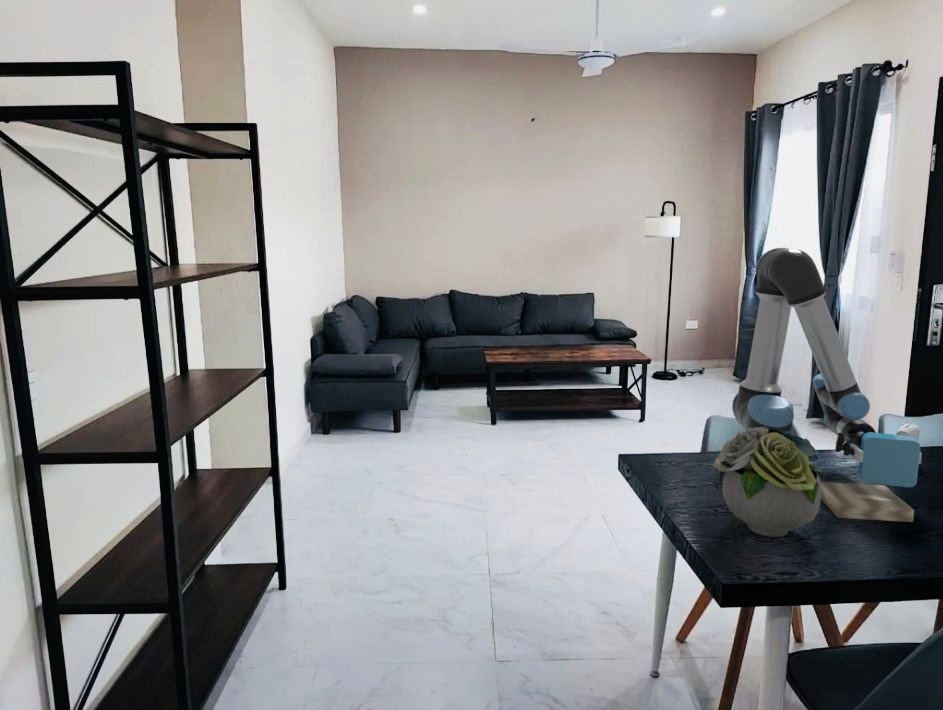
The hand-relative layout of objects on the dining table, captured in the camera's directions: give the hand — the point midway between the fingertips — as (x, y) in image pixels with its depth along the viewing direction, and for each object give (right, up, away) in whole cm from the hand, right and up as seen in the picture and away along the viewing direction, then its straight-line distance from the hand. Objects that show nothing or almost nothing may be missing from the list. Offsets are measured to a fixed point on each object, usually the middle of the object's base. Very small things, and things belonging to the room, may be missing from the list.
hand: (890, 457), depth 169 cm
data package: (0, -7, +2) cm, 7 cm away
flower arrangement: (-34, -16, -8) cm, 39 cm away
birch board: (-4, -13, +5) cm, 15 cm away
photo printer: (+26, -8, +36) cm, 45 cm away
